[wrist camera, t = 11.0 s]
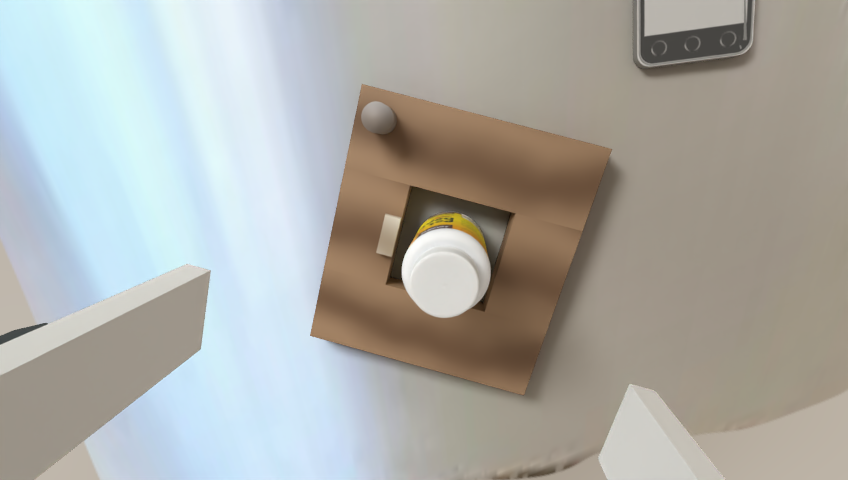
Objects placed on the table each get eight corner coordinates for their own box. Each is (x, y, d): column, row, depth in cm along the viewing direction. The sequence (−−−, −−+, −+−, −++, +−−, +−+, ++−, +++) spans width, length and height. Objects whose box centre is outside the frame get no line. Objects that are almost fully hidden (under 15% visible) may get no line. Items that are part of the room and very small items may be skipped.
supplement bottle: (457, 195, 32) (455, 217, 22) (498, 252, 32) (514, 297, 23) (401, 236, 33) (375, 274, 23) (441, 290, 34) (433, 349, 24)
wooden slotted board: (368, 88, 31) (353, 78, 26) (602, 149, 30) (625, 149, 26) (318, 325, 35) (298, 349, 31) (520, 381, 35) (528, 414, 30)
